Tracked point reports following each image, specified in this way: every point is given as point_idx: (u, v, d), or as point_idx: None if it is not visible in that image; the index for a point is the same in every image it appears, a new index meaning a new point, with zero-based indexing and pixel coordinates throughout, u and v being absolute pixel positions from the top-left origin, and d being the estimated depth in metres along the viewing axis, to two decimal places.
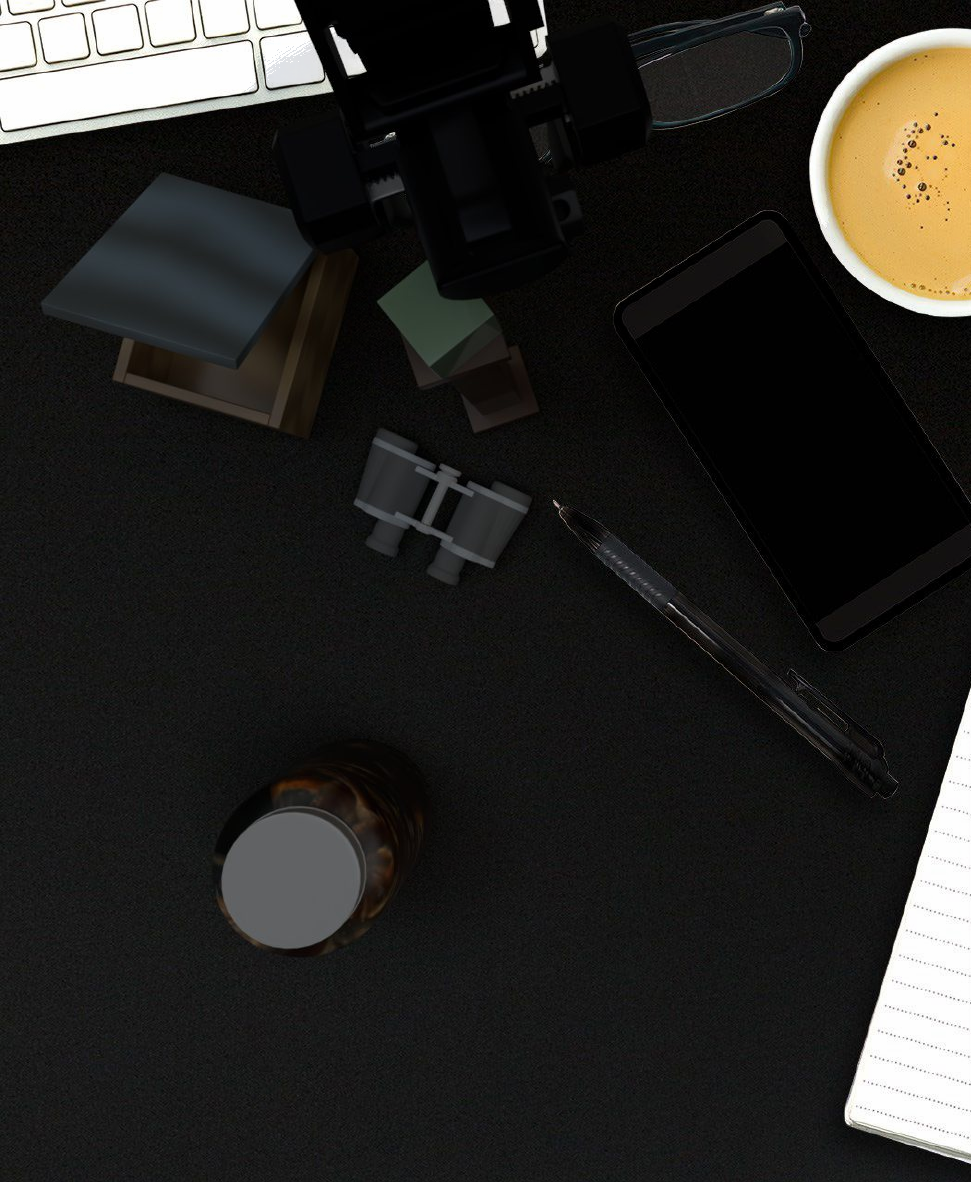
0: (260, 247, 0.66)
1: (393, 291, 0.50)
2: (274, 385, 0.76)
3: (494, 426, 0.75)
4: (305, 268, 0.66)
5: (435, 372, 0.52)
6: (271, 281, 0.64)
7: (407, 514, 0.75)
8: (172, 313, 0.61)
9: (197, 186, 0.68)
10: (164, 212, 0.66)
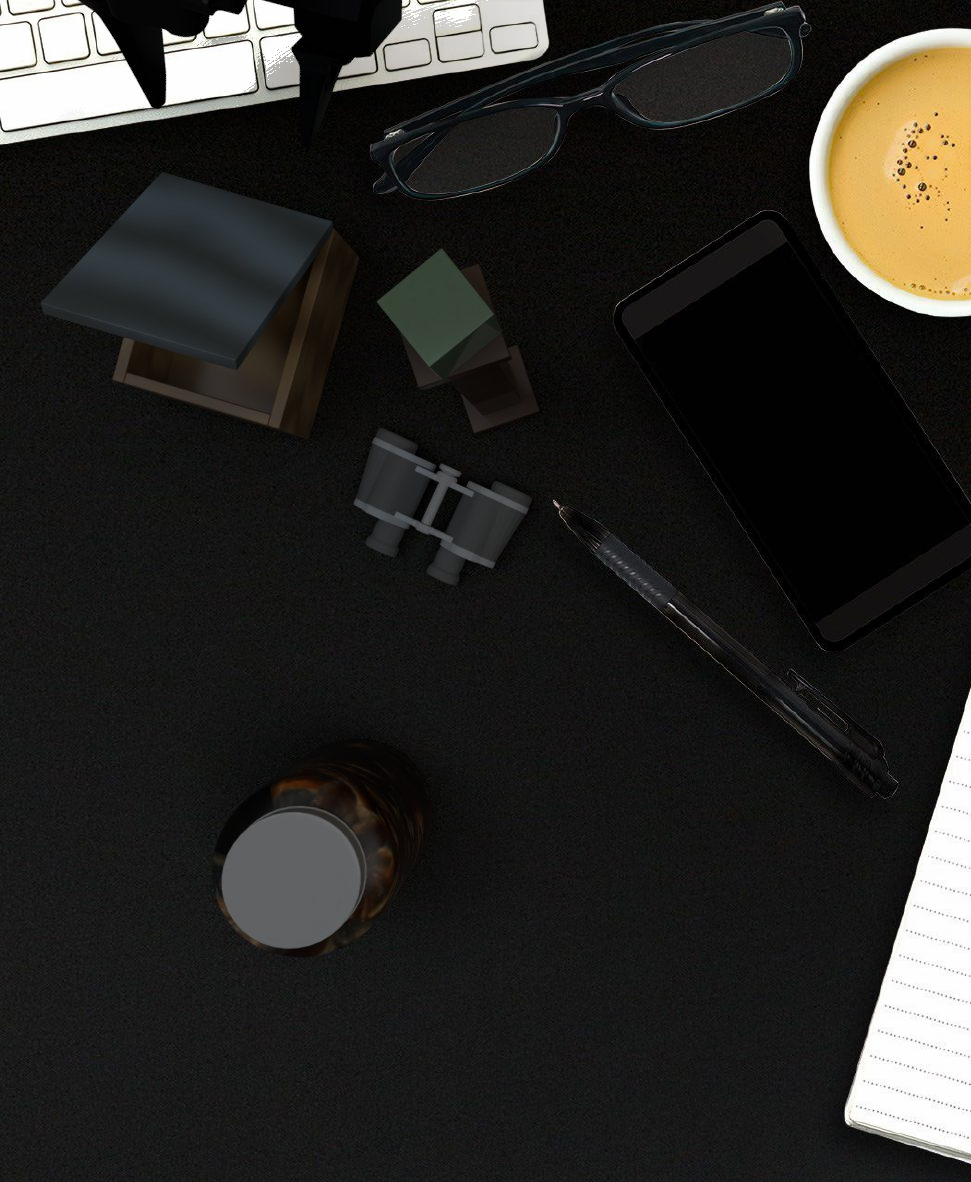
0: (260, 247, 0.66)
1: (393, 291, 0.50)
2: (274, 385, 0.76)
3: (494, 426, 0.75)
4: (305, 268, 0.66)
5: (435, 372, 0.52)
6: (271, 281, 0.64)
7: (407, 514, 0.75)
8: (172, 313, 0.61)
9: (197, 186, 0.68)
10: (164, 212, 0.66)
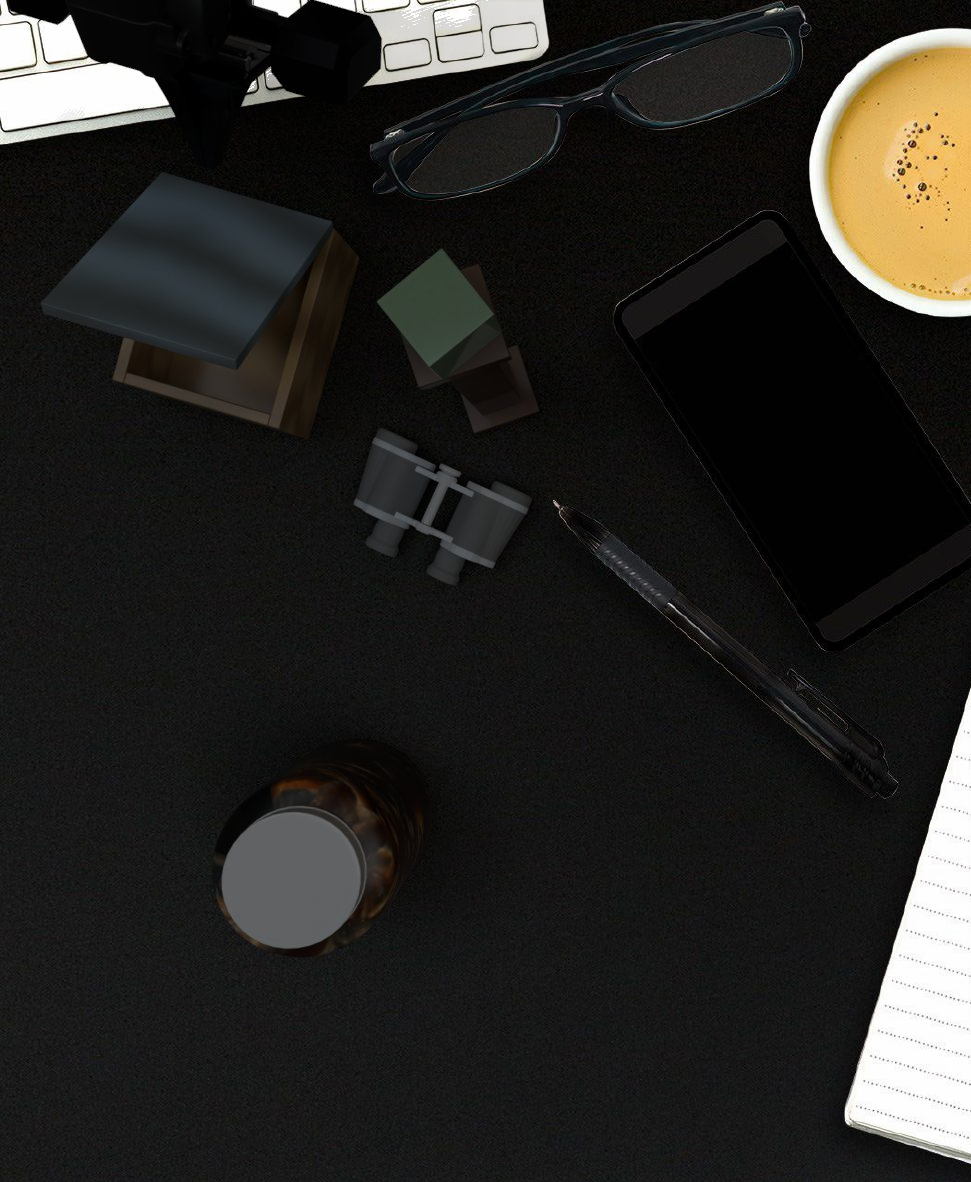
0: (260, 247, 0.66)
1: (393, 291, 0.50)
2: (274, 385, 0.76)
3: (494, 426, 0.75)
4: (305, 268, 0.66)
5: (435, 372, 0.52)
6: (271, 281, 0.64)
7: (407, 514, 0.75)
8: (172, 313, 0.61)
9: (197, 186, 0.68)
10: (164, 212, 0.66)
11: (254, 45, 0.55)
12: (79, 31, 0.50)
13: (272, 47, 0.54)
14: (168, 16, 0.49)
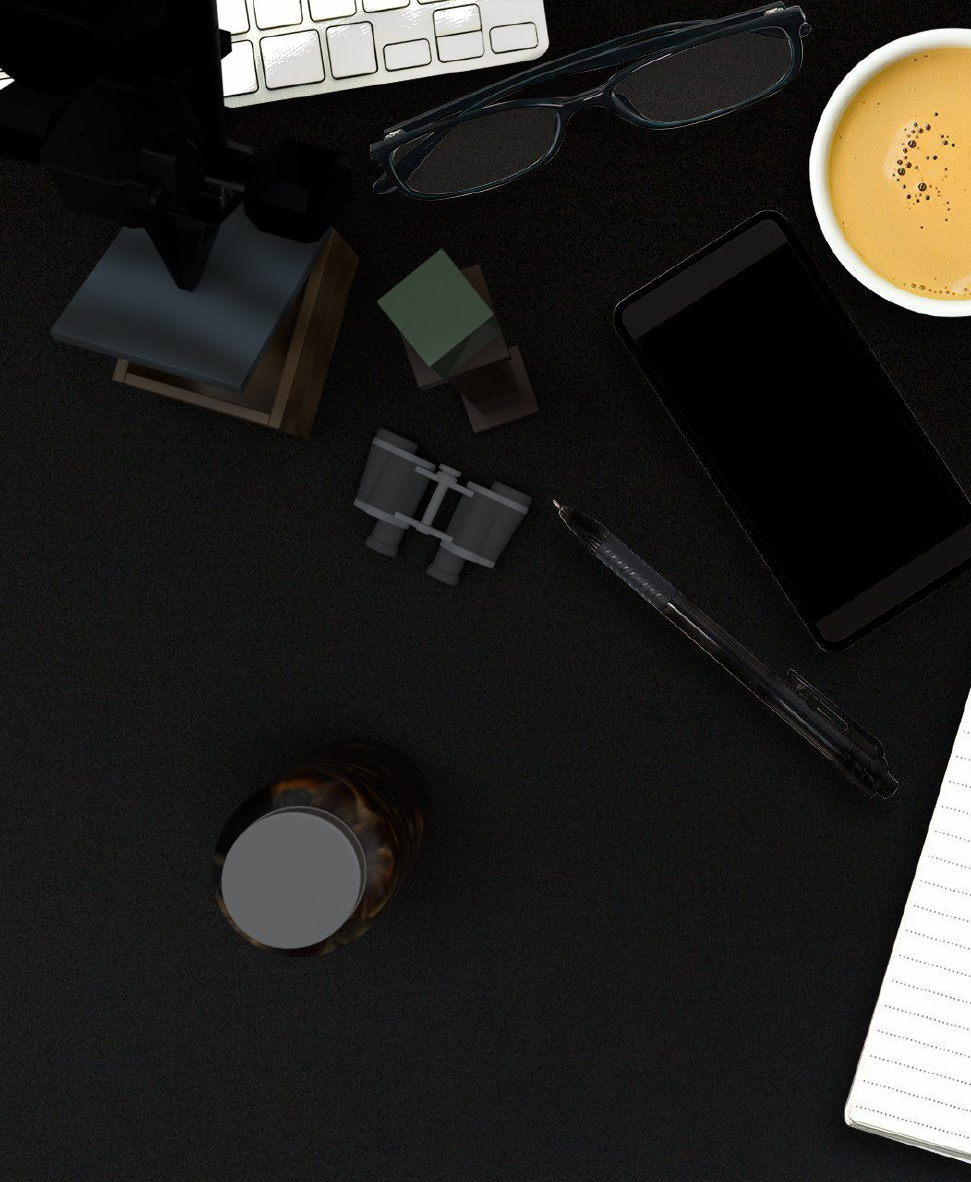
0: (261, 255, 0.66)
1: (393, 291, 0.50)
2: (274, 385, 0.76)
3: (494, 426, 0.75)
4: (306, 276, 0.67)
5: (435, 372, 0.52)
6: (273, 295, 0.65)
7: (407, 514, 0.75)
8: (177, 336, 0.62)
9: None
10: None
11: (228, 186, 0.57)
12: (56, 186, 0.52)
13: (245, 191, 0.55)
14: (142, 175, 0.51)
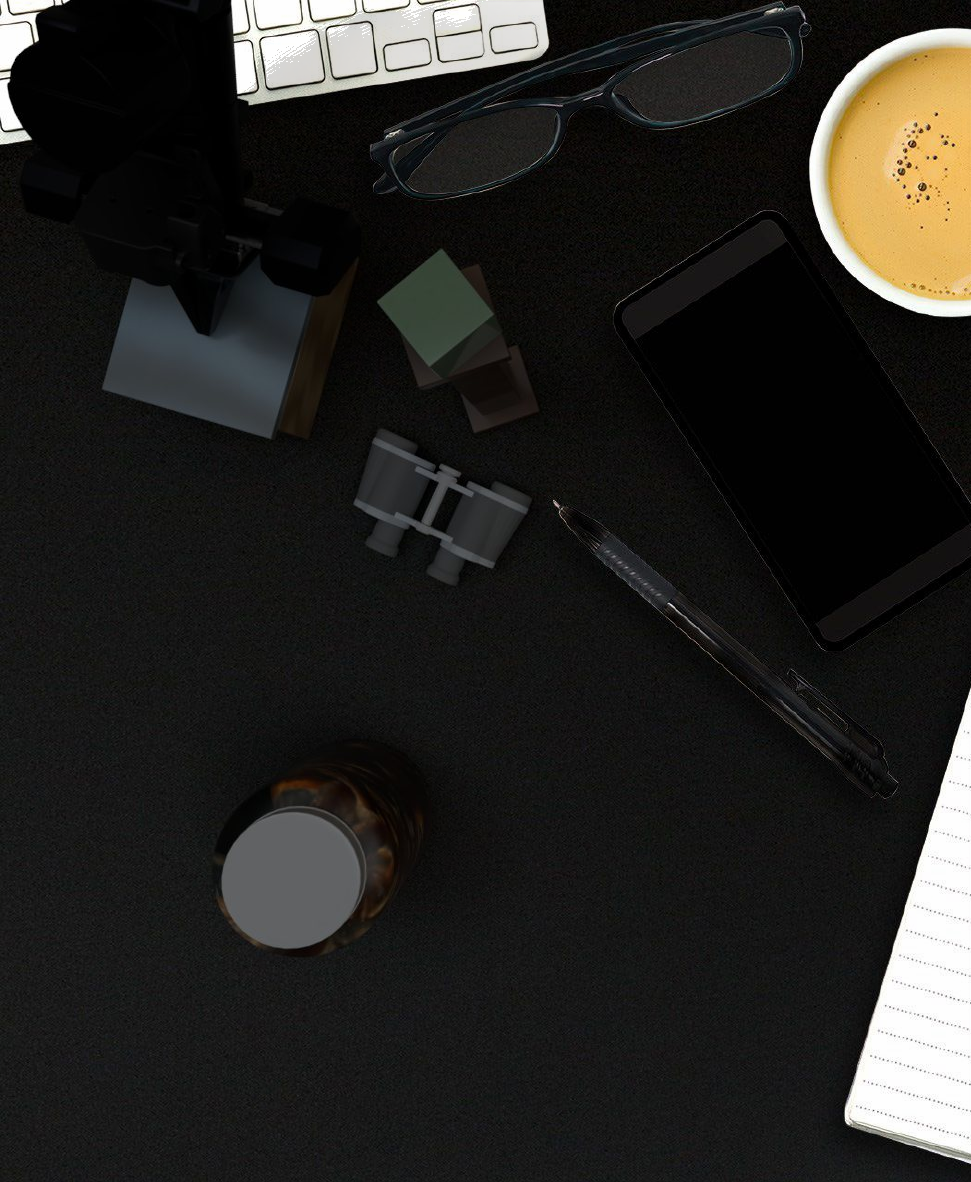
0: None
1: (393, 291, 0.50)
2: None
3: (494, 426, 0.75)
4: None
5: (435, 372, 0.52)
6: (286, 328, 0.69)
7: (407, 514, 0.75)
8: (208, 386, 0.69)
9: None
10: None
11: (246, 243, 0.61)
12: (88, 249, 0.56)
13: (262, 249, 0.59)
14: (168, 239, 0.55)
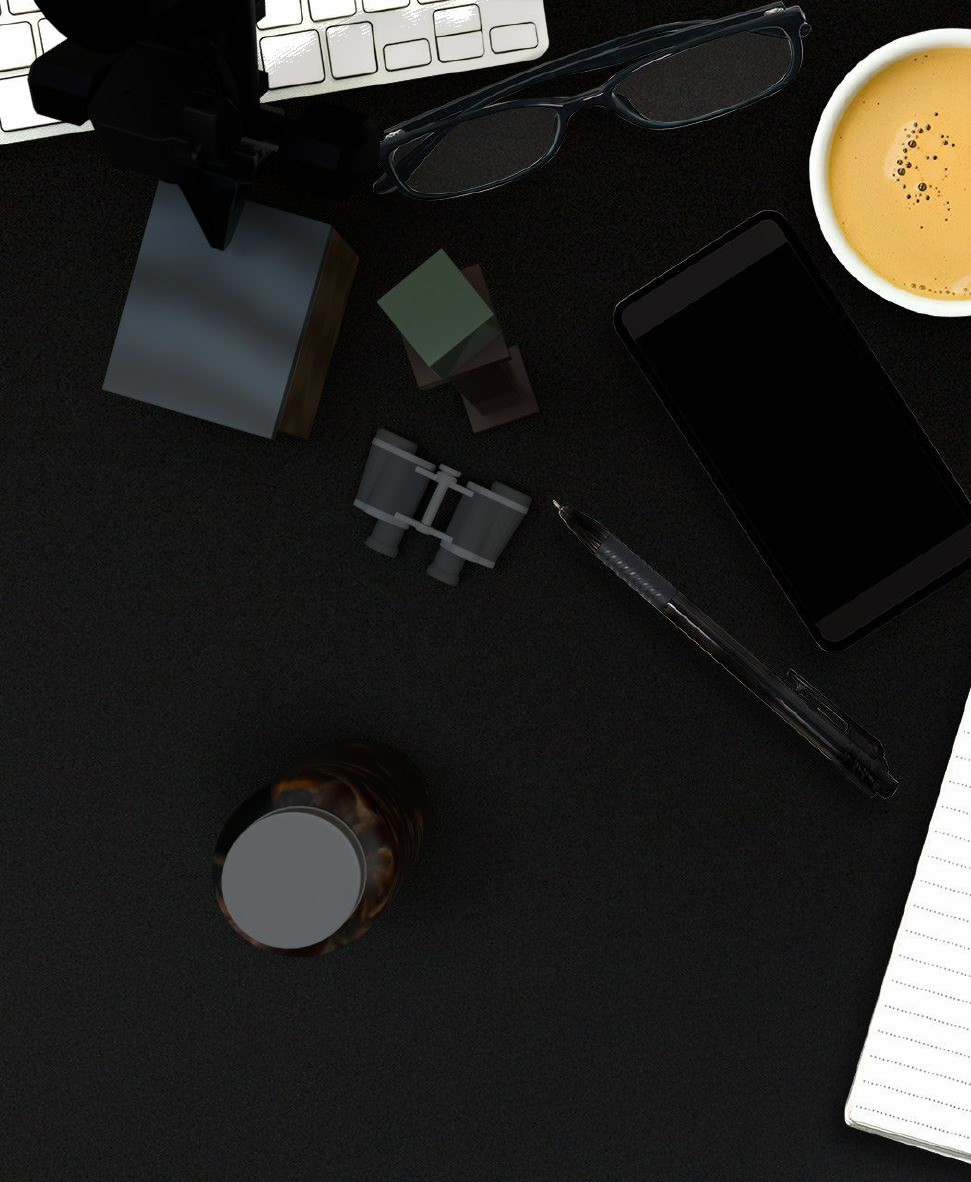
0: (269, 278, 0.68)
1: (393, 291, 0.50)
2: None
3: (494, 426, 0.75)
4: (314, 294, 0.69)
5: (435, 372, 0.52)
6: (286, 328, 0.69)
7: (407, 514, 0.75)
8: (208, 386, 0.69)
9: None
10: (174, 241, 0.69)
11: (262, 145, 0.59)
12: (102, 143, 0.54)
13: (279, 150, 0.58)
14: (184, 131, 0.53)
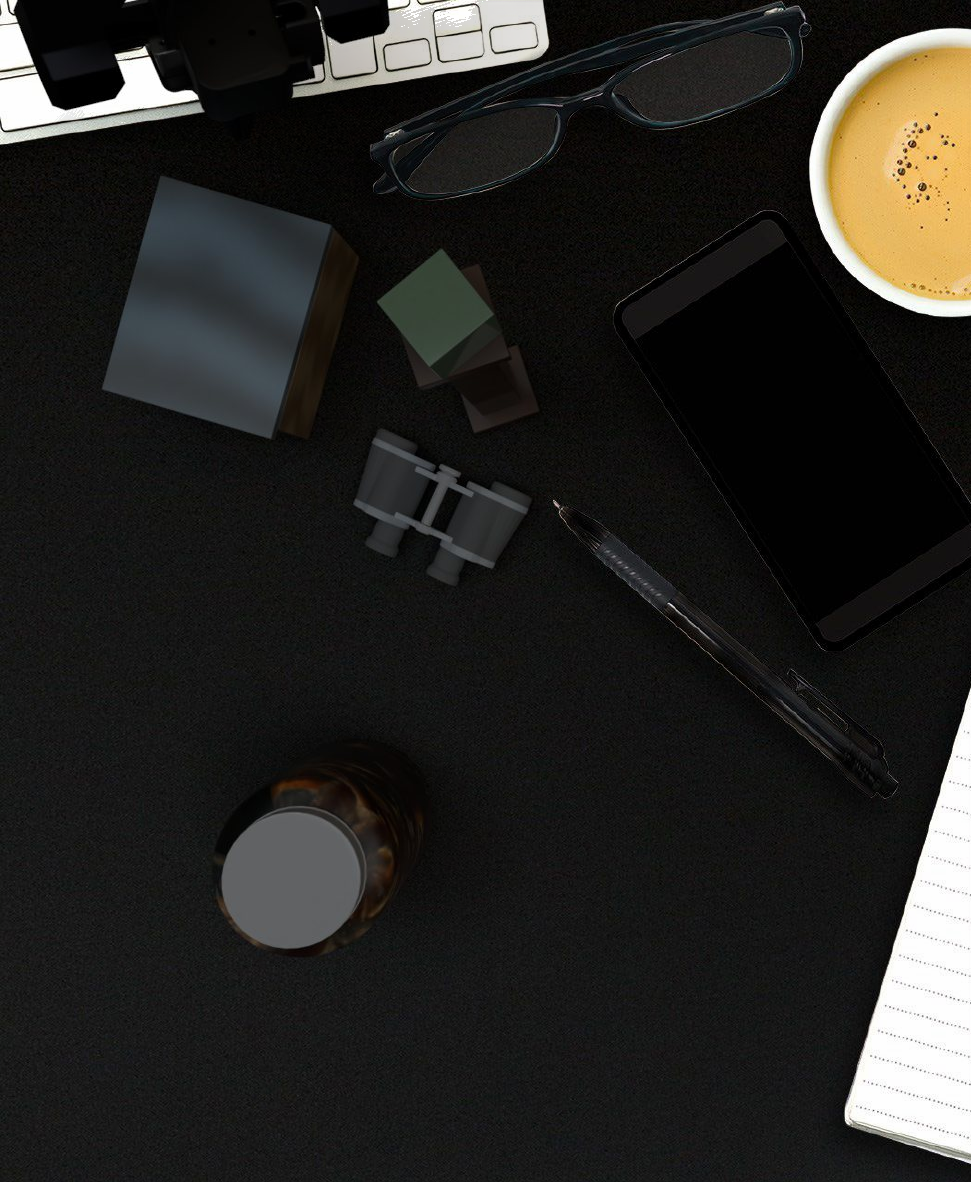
0: (269, 278, 0.68)
1: (393, 291, 0.50)
2: None
3: (494, 426, 0.75)
4: (314, 294, 0.69)
5: (435, 372, 0.52)
6: (286, 328, 0.69)
7: (407, 514, 0.75)
8: (208, 386, 0.69)
9: (196, 192, 0.68)
10: (174, 241, 0.69)
11: None
12: (216, 106, 0.53)
13: (323, 14, 0.57)
14: (291, 51, 0.53)
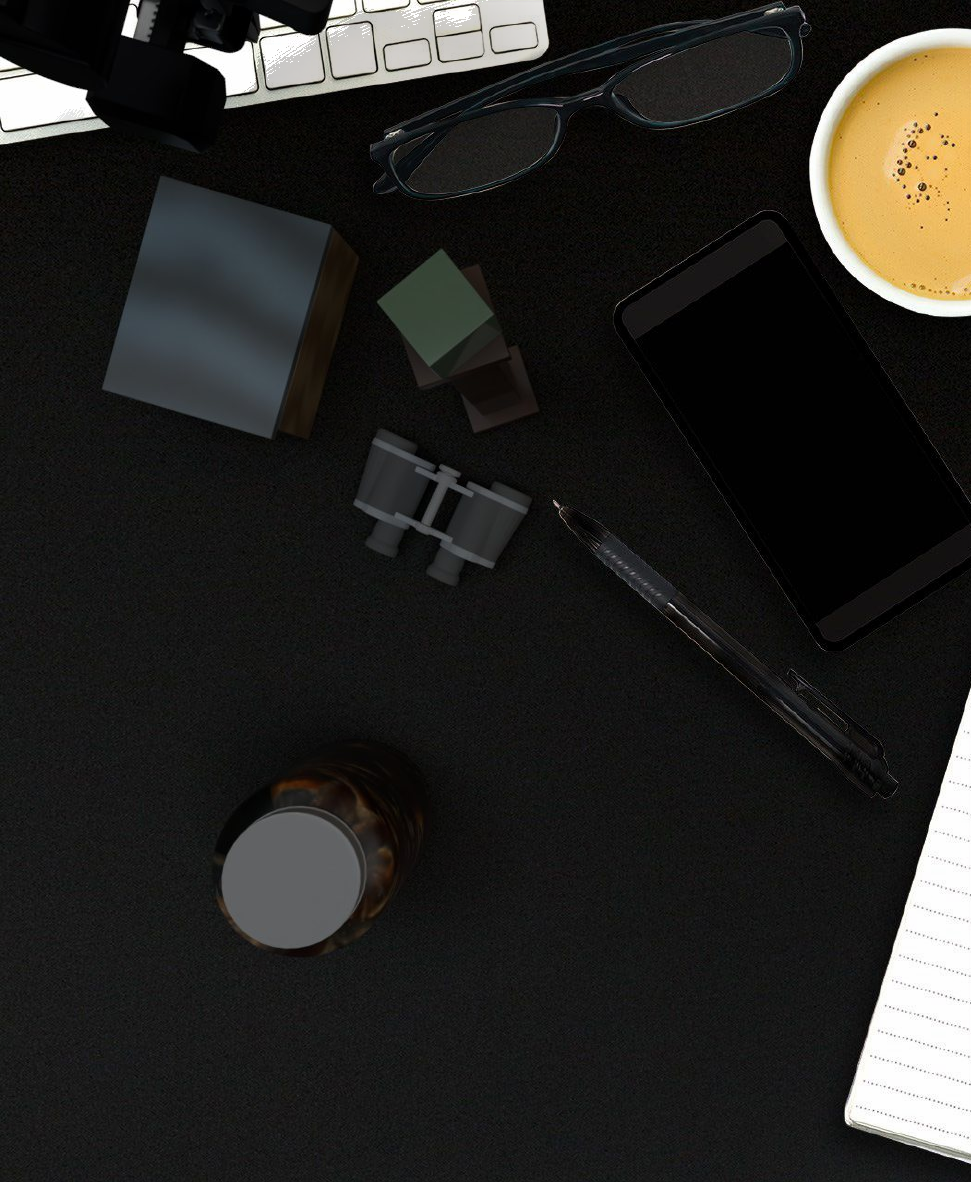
0: (269, 278, 0.68)
1: (393, 291, 0.50)
2: None
3: (494, 426, 0.75)
4: (314, 294, 0.69)
5: (435, 372, 0.52)
6: (286, 328, 0.69)
7: (407, 514, 0.75)
8: (208, 386, 0.69)
9: (196, 192, 0.68)
10: (174, 241, 0.69)
11: None
12: (324, 19, 0.53)
13: None
14: None
